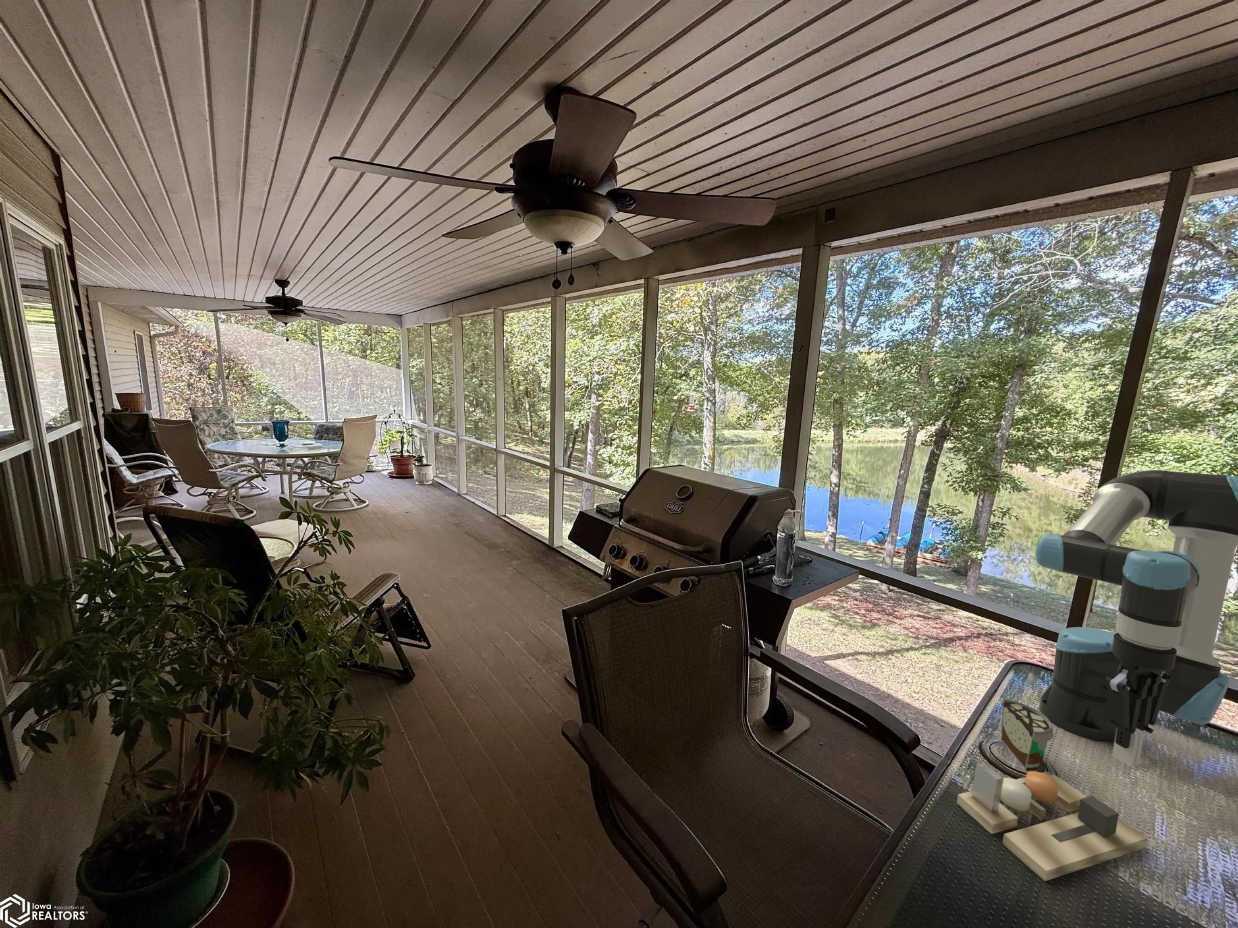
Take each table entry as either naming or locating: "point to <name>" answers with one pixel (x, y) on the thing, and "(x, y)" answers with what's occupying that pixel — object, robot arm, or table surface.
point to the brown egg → (1042, 786)
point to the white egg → (1015, 794)
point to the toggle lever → (987, 787)
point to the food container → (1025, 733)
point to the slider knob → (1098, 816)
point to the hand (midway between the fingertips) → (1125, 760)
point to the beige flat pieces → (1055, 835)
